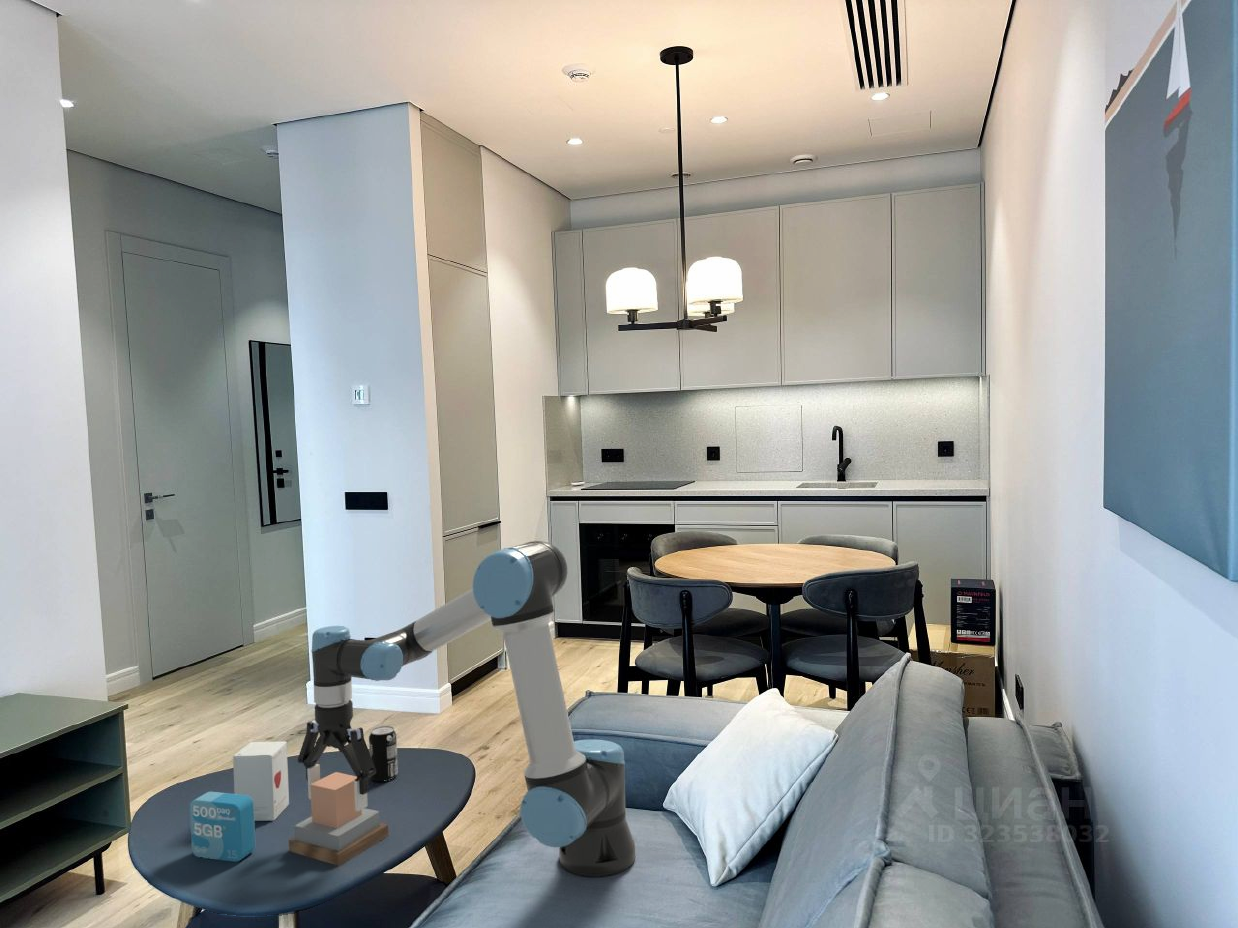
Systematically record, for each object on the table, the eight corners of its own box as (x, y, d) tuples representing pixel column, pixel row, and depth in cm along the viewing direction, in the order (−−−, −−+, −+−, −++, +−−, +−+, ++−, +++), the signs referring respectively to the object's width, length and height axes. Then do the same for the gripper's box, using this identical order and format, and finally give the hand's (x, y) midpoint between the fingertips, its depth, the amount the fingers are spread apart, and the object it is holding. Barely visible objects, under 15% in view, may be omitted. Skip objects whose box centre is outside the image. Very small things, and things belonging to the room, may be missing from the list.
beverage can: (368, 775, 219) (366, 727, 218) (395, 770, 222) (393, 723, 221) (372, 784, 213) (370, 736, 212) (400, 779, 216) (398, 731, 215)
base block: (388, 838, 186) (388, 824, 186) (338, 868, 174) (338, 854, 174) (340, 825, 193) (340, 812, 193) (289, 853, 180) (288, 839, 180)
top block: (380, 825, 186) (379, 811, 186) (339, 850, 175) (338, 836, 175) (337, 815, 191) (336, 801, 191) (294, 839, 180) (294, 825, 180)
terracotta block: (361, 814, 184) (360, 777, 184) (336, 828, 178) (335, 789, 178) (337, 808, 188) (335, 771, 187) (312, 822, 182) (310, 784, 181)
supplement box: (274, 821, 194) (271, 755, 194) (234, 822, 194) (231, 755, 194) (290, 803, 203) (287, 740, 203) (252, 804, 204) (249, 740, 203)
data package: (191, 856, 179) (188, 799, 178) (207, 846, 183) (204, 790, 183) (241, 863, 176) (238, 804, 175) (256, 852, 180) (253, 795, 180)
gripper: (391, 704, 179) (395, 806, 180) (305, 689, 191) (309, 785, 192) (364, 715, 173) (368, 821, 174) (277, 699, 185) (281, 798, 186)
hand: (337, 802), depth 183 cm, fingers open, 13 cm apart
